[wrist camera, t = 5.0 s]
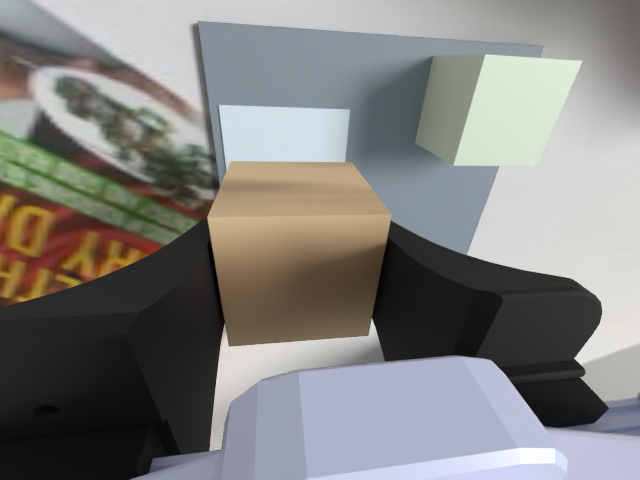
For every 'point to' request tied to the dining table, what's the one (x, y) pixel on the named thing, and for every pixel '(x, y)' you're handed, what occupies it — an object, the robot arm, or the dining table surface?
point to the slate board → (345, 114)
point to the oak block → (297, 250)
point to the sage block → (493, 108)
